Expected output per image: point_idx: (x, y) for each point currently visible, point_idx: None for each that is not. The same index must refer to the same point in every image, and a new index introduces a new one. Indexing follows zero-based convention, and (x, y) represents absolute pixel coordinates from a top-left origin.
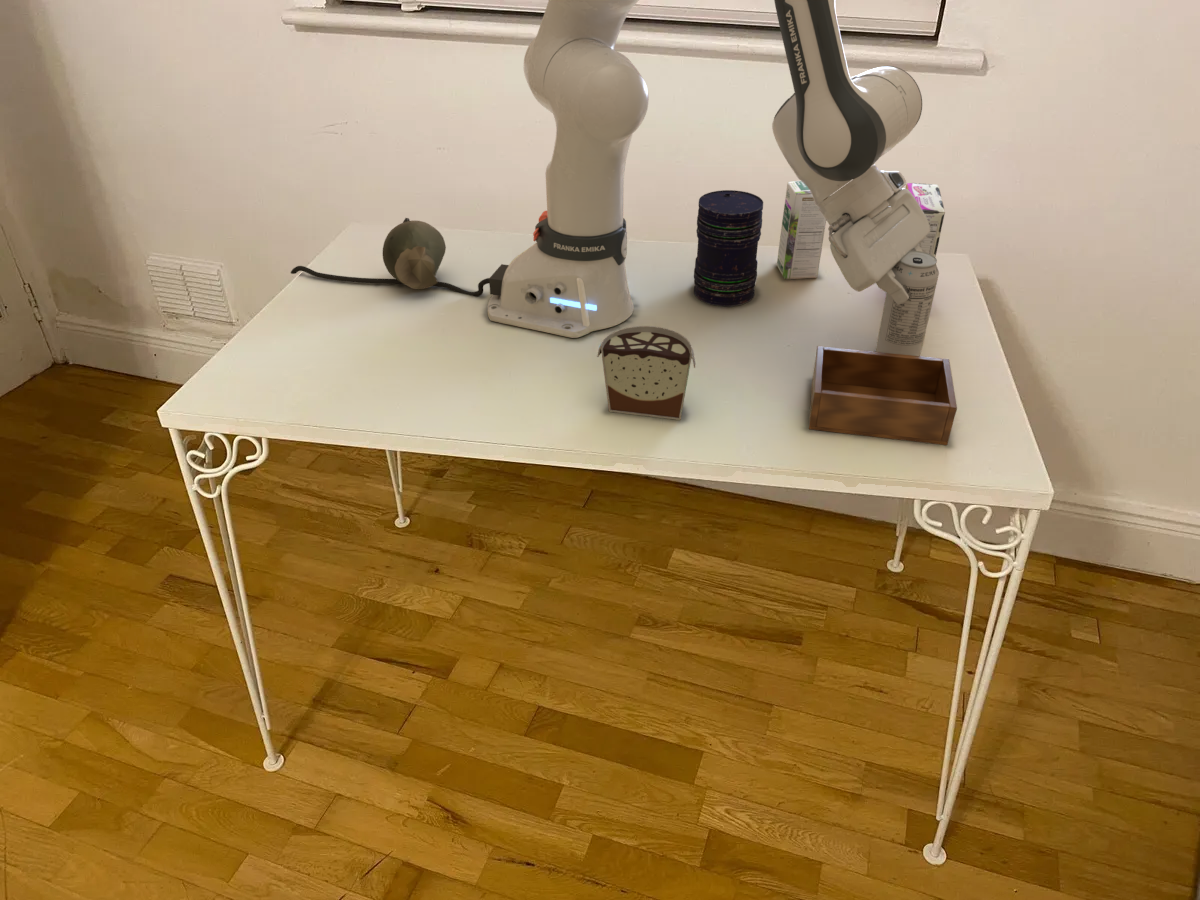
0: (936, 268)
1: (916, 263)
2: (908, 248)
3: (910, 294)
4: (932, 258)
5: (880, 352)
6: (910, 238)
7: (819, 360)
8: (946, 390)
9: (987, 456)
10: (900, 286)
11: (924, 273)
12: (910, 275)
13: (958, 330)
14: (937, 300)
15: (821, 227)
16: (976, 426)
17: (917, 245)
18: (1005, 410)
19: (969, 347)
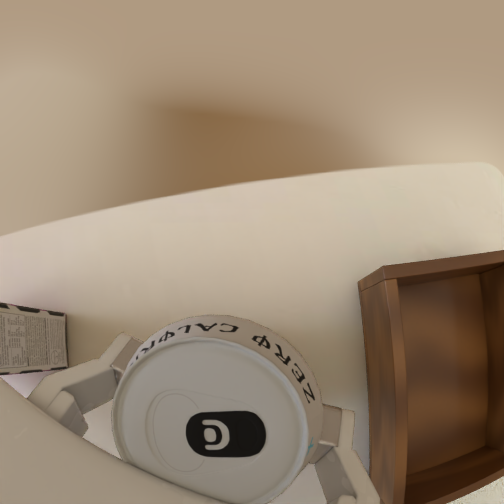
0: (227, 331)
1: (267, 440)
2: (131, 479)
3: (325, 406)
4: (172, 358)
5: (397, 414)
6: (53, 465)
7: (442, 501)
8: (478, 266)
9: (478, 213)
10: (351, 455)
11: (304, 387)
12: (312, 441)
13: (107, 252)
14: (25, 287)
15: None
16: (424, 223)
17: (36, 401)
18: (364, 180)
19: (164, 233)
